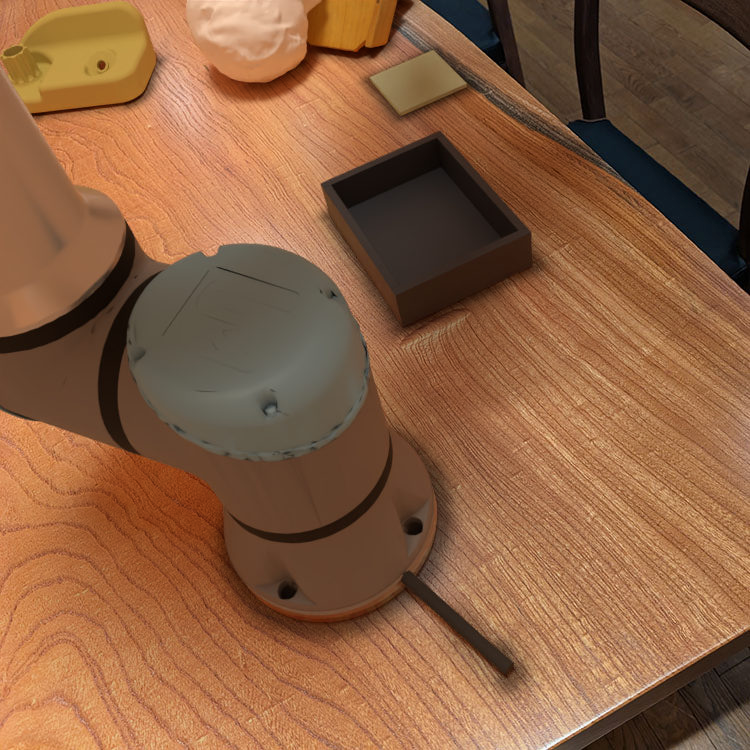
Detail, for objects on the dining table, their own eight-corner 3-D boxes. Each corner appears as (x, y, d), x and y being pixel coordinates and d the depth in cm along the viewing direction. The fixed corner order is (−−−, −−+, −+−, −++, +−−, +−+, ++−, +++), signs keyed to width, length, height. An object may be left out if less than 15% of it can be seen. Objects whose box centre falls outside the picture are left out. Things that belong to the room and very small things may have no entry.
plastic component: (139, 100, 97) (159, 55, 103) (114, 41, 91) (136, -3, 98) (-12, 118, 100) (16, 73, 107) (-46, 62, 95) (-14, 19, 101)
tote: (532, 266, 71) (531, 231, 68) (402, 327, 70) (395, 295, 66) (445, 164, 81) (440, 129, 78) (329, 215, 80) (320, 183, 76)
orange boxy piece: (370, 52, 93) (404, 74, 101) (390, -36, 91) (423, -7, 99) (294, 41, 97) (332, 63, 105) (311, -43, 95) (349, -15, 104)
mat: (467, 87, 88) (467, 83, 87) (400, 116, 87) (399, 112, 86) (433, 53, 93) (433, 49, 92) (370, 80, 92) (369, 76, 91)
